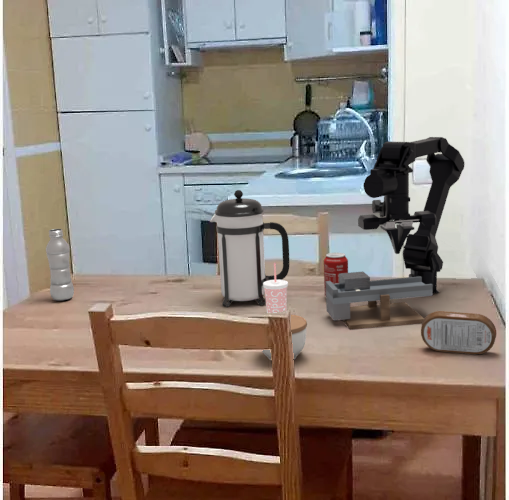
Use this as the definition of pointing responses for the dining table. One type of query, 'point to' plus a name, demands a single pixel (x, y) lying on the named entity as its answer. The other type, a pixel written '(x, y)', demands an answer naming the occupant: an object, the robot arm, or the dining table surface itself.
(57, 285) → the plastic bottle
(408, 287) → the beam
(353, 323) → the stand
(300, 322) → the lidded jar
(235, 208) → the coffee press
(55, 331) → the dining table surface
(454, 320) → the tin
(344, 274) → the block
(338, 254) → the beverage can
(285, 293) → the beverage cup
